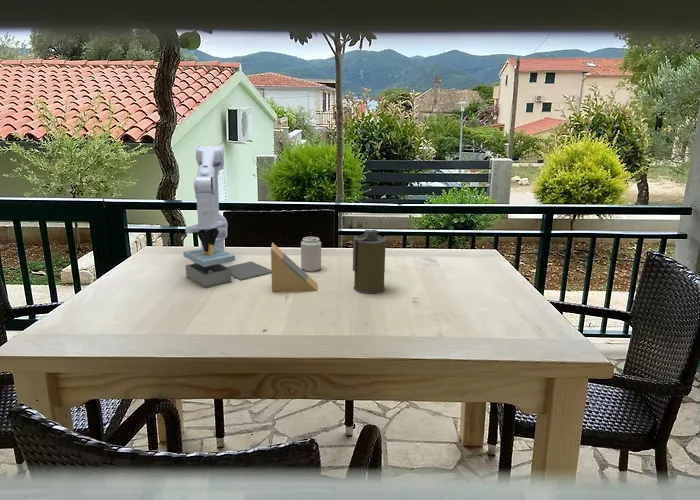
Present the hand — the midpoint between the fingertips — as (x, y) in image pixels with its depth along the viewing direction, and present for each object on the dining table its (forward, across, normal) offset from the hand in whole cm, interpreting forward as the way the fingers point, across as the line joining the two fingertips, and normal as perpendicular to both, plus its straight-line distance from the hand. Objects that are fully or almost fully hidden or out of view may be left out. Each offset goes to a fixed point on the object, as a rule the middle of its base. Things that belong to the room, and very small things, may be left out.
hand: (208, 250), depth 178 cm
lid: (+3, 0, 0) cm, 3 cm away
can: (+11, +34, -13) cm, 38 cm away
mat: (+10, +14, 0) cm, 18 cm away
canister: (+11, +37, -42) cm, 57 cm away
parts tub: (+10, -1, 0) cm, 10 cm away
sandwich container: (+11, +18, -26) cm, 33 cm away
